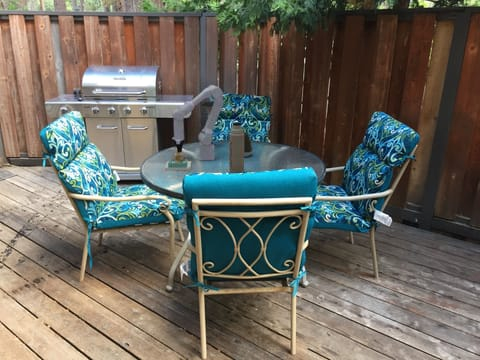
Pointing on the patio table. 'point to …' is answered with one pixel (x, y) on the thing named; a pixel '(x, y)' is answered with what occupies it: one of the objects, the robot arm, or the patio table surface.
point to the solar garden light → (208, 107)
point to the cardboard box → (178, 157)
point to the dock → (178, 165)
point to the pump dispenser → (247, 145)
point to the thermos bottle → (236, 148)
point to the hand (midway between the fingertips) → (179, 152)
